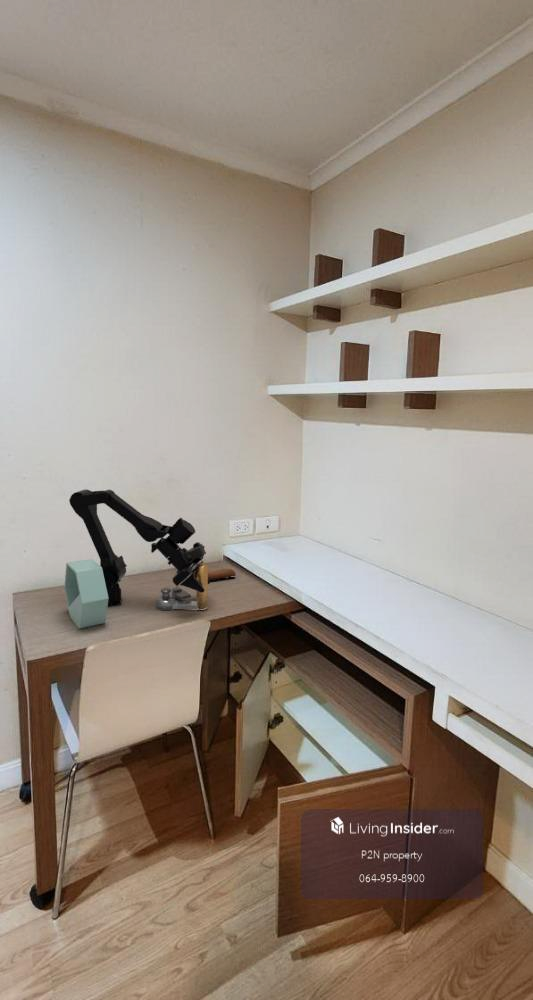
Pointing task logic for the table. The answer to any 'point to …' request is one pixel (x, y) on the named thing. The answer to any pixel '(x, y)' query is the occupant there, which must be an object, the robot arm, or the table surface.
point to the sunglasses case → (220, 573)
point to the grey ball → (166, 593)
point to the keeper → (180, 594)
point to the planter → (86, 593)
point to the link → (180, 604)
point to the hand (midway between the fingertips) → (206, 587)
